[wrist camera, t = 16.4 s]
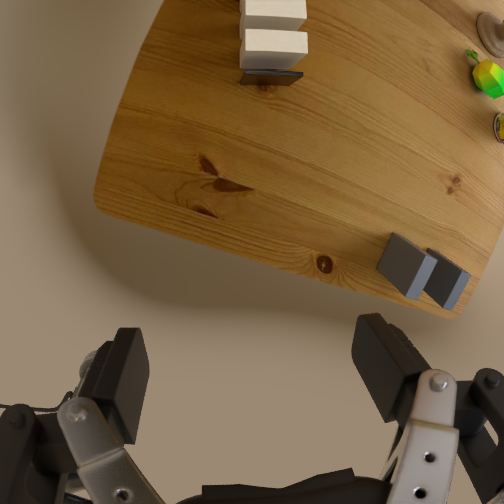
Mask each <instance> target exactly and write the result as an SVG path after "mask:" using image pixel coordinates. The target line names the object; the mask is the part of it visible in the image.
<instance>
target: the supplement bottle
mask: <svg viewBox="0 0 504 504" xmlns="http://www.w3.org/2000/svg"><path fill="white" fill-rule="evenodd" d="M494 130H495V134H496V137H497V138H498V140H499V141H500V142H501V143H504V113H500V114H498V115H497V116H496V118H495V122H494Z"/></svg>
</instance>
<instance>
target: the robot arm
mask: <svg viewBox="0 0 504 504" xmlns="http://www.w3.org/2000/svg"><path fill="white" fill-rule="evenodd" d="M351 352H352V359H353V362H354V364H355V366H356V368H357V370H358V372H359V374H360V376H361V377H362V379H363V381H364V383H365V385H366V387H367V389H368V391H369V392H370V395H371V397H372V399H373V400H374V402H375V404H376V406H377V408H378V410H379V412H380V414H381V416H382V418H383V420H384V422H385V423H388V422H391V421H395V420H397V422H398V424H399V425H398V427H397V429H396V432H395V435H394V438H393V441H392V444H391V447H390V450H389V453H388V455H387V458H386V461H385V464H384V466H383V469H382V471H381V473H380V475H379V477H378V479H375V478H370V477H361V476H355V475H354V472H353V470H352V468H348V469H344V470H339V471H334V472H330V473H324V474H319V475H316V476H313V477H311V478H308V479H306V480H303V481H301V482H298V483H295V484H293V485H290V486H287V487H284V488H266V487H258V486H249V485H242V484H234V485H203V486H202V494H201V495H196V496H193V497H190V498H187V499H185V500H182V501H180V502H178V503H176V504H447V499H448V496H449V491H450V486H451V482H452V476H453V471H454V465H455V460H456V454H458V456H459V458H460V459H461V461H462V463H463V465H464V467H465V469H466V471H467V473H468V475H469V477H470V479H471V481H472V484H473V486H474V488H475V490H476V492H477V494H478V496H479V498H480V500H481V502H482V504H504V376H503V375H502V374H501V373H500V372H498V371H497V370H494V369H490V368H483V369H480V370H479V371H478V372H477V373H476V375H475V377H474V379H473V380H472V381H455V379H454V377H453V376H452V375H450V374H449V373H447V372H445V371H443V370H440V369H432V368H431V367H430V366H429V364H428V363H427V362H426V360H425V359H424V358H423V357H422V355H421V354H420V353H419V351H418V350H417V349H416V348H415V347H413V344H412V343H411V341H410V340H408V338H407V336H406V335H405V334H404V333H403V331H402V330H400V329H399V328H397V327H395V326H394V325H392V324H387V323H386V321H385V320H384V319H383V317H382V316H381V315H380V314H379V313H371V314H363V315H359V316H358V318H357V323H356V329H355V333H354V338H353V343H352V351H351ZM148 378H149V361H148V356H147V352H146V348H145V344H144V340H143V336H142V333H141V330H140V328H119V329H118V331H117V334H116V336H115V338H114V341H106V342H105V343H104V344H103V345H102V346H101V347H100V348H99V349H98V350H97V352H96V354H95V357H94V361H92V363H91V366H90V367H89V368H88V369H87V371H86V373H85V375H82V377H81V380H80V382H79V384H78V387H76V388H75V391H74V393H73V392H72V391H69V392H67V393H66V395H65V396H64V398H63V400H62V402H61V403H60V405H58V406H57V407H55V408H49V409H48V408H34V407H29V406H28V405H25V404H15V405H12V406H10V405H2V404H0V408H6V410H5V411H4V412H3V413H2V415H1V417H0V504H166V503H165V502H164V501H163V500H162V499H161V497H160V496H159V495H158V493H156V491H155V490H154V488H153V487H152V486H151V484H150V483H149V482H148V481H147V479H146V478H145V477H144V475H143V474H142V472H141V471H140V470H139V468H138V467H137V465H136V464H135V463H134V461H133V460H132V459H131V457H130V455H129V454H128V452H127V451H126V450H125V448H123V447H124V444H133V445H134V444H135V441H136V435H137V430H138V425H139V420H140V415H141V410H142V406H143V401H144V396H145V392H146V387H147V382H148ZM69 397H70V399H69V400H68V398H69ZM34 411H38V412H56V411H58V412H56V413H49V414H41V415H36V414H35V413H34ZM487 420H489V422H490V424H491V425H492V427H493V428H494V430H495V431H496V433H497V435H498V440H499V441H498V445H497V446H496V444H495V443H494V441H493V439H492V438H491V436H490V435H489V433H488V431H487V430H486V428H485V427H484V424H485V423H486V421H487ZM82 490H87V492H88V494H89V496H90V498H91V500H88V499H86V498H83V497H79V496H76V495H73V493H75V492H78V491H82Z"/></svg>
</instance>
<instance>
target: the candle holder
mask: <svg viewBox="0 0 504 504" xmlns="http://www.w3.org/2000/svg"><path fill="white" fill-rule="evenodd" d="M477 29H478V33H479V36H480V38H481V40H482V42H483V44H484V45H485V47H486V48H487V49H488V51H489V52H490V53H491V54H493V55H494V56H496V57H499V58H503V57H504V20H503V22H501V21H500V20H499V19H497V18H496V17H495V16H494V15H492V14H490V13H482V14H480V15H479V16H478V18H477Z"/></svg>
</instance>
